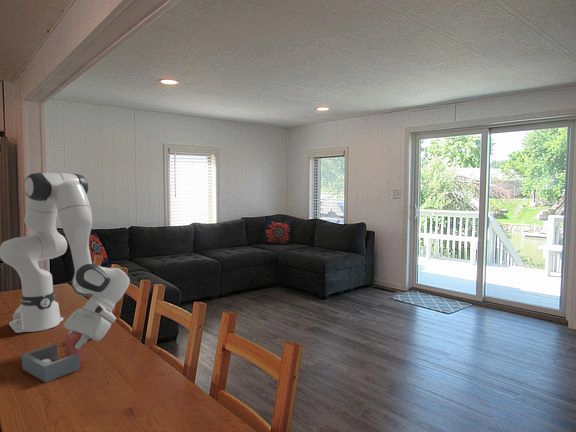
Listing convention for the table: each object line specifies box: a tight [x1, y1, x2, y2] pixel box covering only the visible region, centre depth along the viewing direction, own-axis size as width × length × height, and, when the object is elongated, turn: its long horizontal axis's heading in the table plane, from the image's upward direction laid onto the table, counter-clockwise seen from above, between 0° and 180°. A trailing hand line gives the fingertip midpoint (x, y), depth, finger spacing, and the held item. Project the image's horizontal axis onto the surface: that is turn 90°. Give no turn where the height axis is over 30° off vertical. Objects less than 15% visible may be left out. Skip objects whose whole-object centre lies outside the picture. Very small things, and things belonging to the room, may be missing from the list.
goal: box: [20, 343, 81, 383], centre depth 133 cm, size 16×10×5 cm, turn 55°
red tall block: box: [64, 332, 85, 362], centre depth 139 cm, size 4×4×9 cm
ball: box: [42, 359, 53, 364], centre depth 132 cm, size 4×4×4 cm
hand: (71, 346), depth 139 cm, fingers open, 4 cm apart
